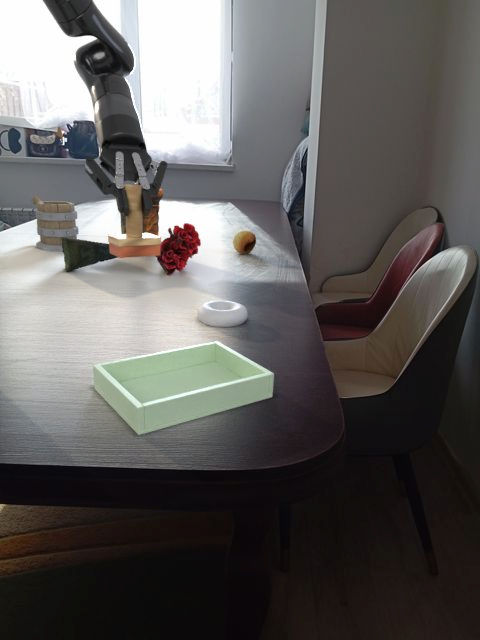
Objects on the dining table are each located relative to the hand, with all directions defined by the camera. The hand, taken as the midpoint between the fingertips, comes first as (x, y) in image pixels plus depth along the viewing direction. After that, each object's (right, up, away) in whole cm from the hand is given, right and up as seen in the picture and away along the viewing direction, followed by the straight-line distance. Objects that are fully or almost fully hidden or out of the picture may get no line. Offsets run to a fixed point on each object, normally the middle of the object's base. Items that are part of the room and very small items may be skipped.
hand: (136, 212), depth 81 cm
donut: (+12, -16, +21) cm, 29 cm away
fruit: (+13, +10, +89) cm, 91 cm away
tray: (+9, -28, -10) cm, 31 cm away
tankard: (-48, +12, +86) cm, 100 cm away
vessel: (-19, +9, +83) cm, 85 cm away
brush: (-1, -6, +4) cm, 7 cm away
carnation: (-15, -1, +57) cm, 59 cm away
